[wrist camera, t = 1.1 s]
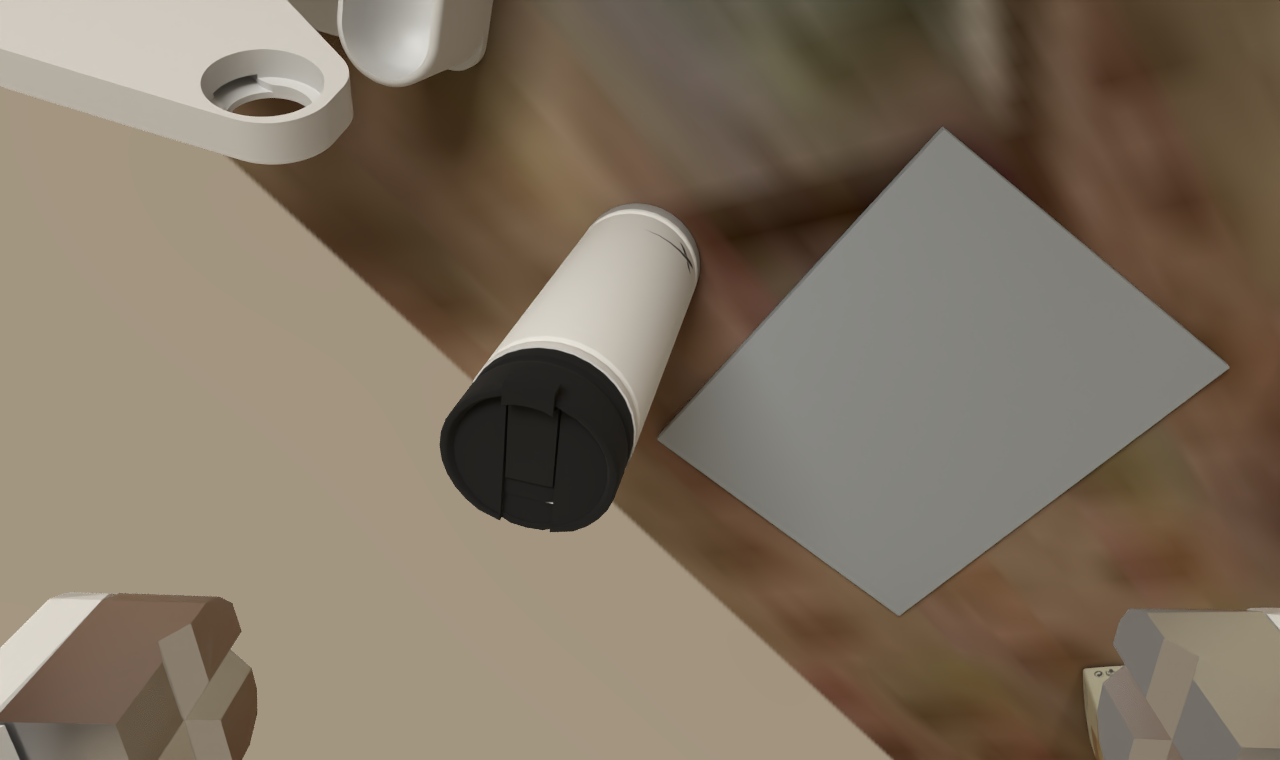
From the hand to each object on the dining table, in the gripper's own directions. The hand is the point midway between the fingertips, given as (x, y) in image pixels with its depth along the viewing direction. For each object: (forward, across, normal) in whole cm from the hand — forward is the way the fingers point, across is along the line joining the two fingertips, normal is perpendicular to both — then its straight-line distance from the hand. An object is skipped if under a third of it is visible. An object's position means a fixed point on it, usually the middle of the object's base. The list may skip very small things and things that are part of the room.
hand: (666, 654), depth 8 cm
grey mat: (+36, -12, +16) cm, 41 cm away
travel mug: (+38, +2, +8) cm, 39 cm away
